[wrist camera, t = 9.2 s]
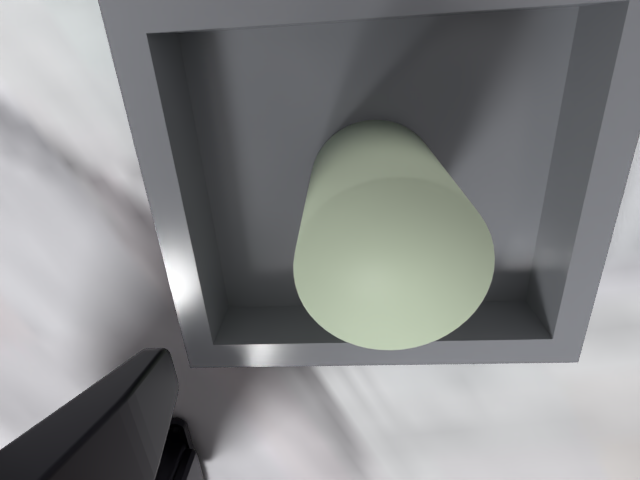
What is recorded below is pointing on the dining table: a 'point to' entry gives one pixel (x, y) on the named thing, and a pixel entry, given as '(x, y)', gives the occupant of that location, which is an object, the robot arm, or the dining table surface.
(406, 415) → the dining table surface
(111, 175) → the dining table surface
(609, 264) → the dining table surface
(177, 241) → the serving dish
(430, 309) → the pale green cylinder
